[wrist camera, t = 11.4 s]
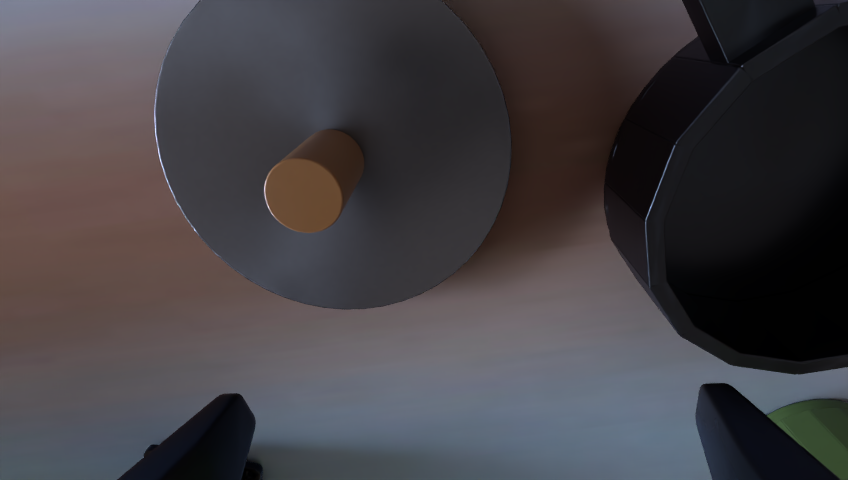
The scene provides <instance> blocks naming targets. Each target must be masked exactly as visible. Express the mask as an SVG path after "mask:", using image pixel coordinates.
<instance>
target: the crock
mask: <svg viewBox="0 0 848 480" xmlns="http://www.w3.org/2000/svg"><path fill="white" fill-rule="evenodd" d="M767 417H769V418H770V419H771V420H772V421H773V422H774V423H776V424H777V425H778V426H779V427H780V428H781V429H783V430H784V431H785V432H786V433H787V434H788V435H790V436H791V437H792V438H793V439H794V440H795V441H797V442H798V443H799V444H800V445H801V446H802V447H804V448H805V449H806V450H807V451H808V452H809V453H811V454H812V455H813V456H814V457H815V458H816V459H818V460H819V461H820V462H821V463H822V464H823V465H825V466H826V467H827V468H828V469H829V470H830V471H832V472H833V473H834V474H835V475H836V476H837V477H839V478H840V479H841V480H848V403H846V402H842V401H838V400H829V399H818V400H808V401H802V402H798V403H794V404H791V405H788V406H785V407H783V408H780V409H778V410H776V411H774V412H772V413H770V414H768V415H767Z"/></svg>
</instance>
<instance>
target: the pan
mask: <svg viewBox="0 0 848 480" xmlns="http://www.w3.org/2000/svg"><path fill="white" fill-rule="evenodd" d="M682 1H683V3H684V6H685V8H686V10H687V12H688V14H689V16H690V19H691V21H692V23H693V25H694V27H695V29H696V31H697V34H698V37H697V38H695V39H694V40H693V41H691V42H690V43H689V44H687V45H686V46H685V47H683V48H682V49H681V50H680V51H679V52H678V53H677V54H676V55H674V56H673V57H672V58H671V59H670V60H669V61H668V62H667V63H666V64H665V65H664V66H663V67H662V68H661V69H660V70H659V71H658V72H657V73H656V75H655V76H654V77H653V78H652V79H651V80H650V82H649V83H648V84H647V85H646V86H645V87H644V89H643V90H642V92H641V93H640V95H639V96H638V97H637V99H636V100H635V102H634V103H633V105H632V106H631V108H630V110H629V111H628V113H627V115H626V117H625V119H624V121H623V123H622V124H621V126H620V128H619V131H618V133H617V136H616V138H615V141H614V143H613V146H612V149H611V152H610V156H609V160H608V164H607V168H606V175H605V184H604V208H605V214H606V220H607V225H608V228H609V231H610V237H611V240H612V242H613V243H614V245H615V246H616V248H617V249H618V251H619V253H620V255H621V256H622V258H623V259H624V260H625V262H626V264H627V265H628V267H629V268H630V270H631V271H632V273H633V275H634V276H635V278H636V279H637V281H638V282H639V283H640V284H641V286H642V287H643V288H644V290H645V291H646V292H647V294H648V295H649V296H650V298H651V299H652V300H653V302H654V303H655V304H656V306H657V307H658V308H659V309H660V311H661V312H662V313H663V315H664V316H665V317H666V319H667V320H668V321H669V323H670V324H671V325H672V327H673V328H674V329H675V330H676V332H677V333H678V334H679V335H680V336H681V337H683V338H684V339H686V340H688V341H690V342H691V343H693V344H695V345H697V346H698V347H700V348H702V349H704V350H705V351H707V352H709V353H710V354H712V355H714V356H716V357H717V358H719V359H721V360H723V361H724V362H726V363H728V364H730V365H733V366H739V367H746V368H753V369H760V370H767V371H774V372H781V373H788V374H805V373H812V372H818V371H825V370H831V369H838V368H844V367H848V0H682Z"/></svg>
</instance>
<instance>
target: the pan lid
mask: <svg viewBox="0 0 848 480" xmlns="http://www.w3.org/2000/svg"><path fill="white" fill-rule="evenodd" d="M154 115H155V135H156V141H157V146H158V152H159V158H160V161H161V164H162V167H163V171H164V174H165V177H166V180H167V182H168V185H169V187H170V189H171V191H172V194H173V196H174V198H175V200H176V202H177V204H178V205H179V207H180V209H181V211H182V212H183V214H184V216H185V217H186V219H187V221H188V222H189V223H190V225H191V226H192V227H193V229H194V230H195V231H196V233H197V234H198V235H199V237H200V238H201V239H202V240H203V241H204V242H205V243H206V244H207V245H208V247H209V248H210V249H211V250H212V251H213V252H214V253H215V254H216V255H217V256H218V257H220V258H221V259H222V260H223V261H224V262H225V263H227V264H228V265H229V266H230V267H231V268H233V269H234V270H235V271H237V272H238V273H240V274H241V275H243V276H244V277H245V278H247V279H248V280H250V281H252V282H254V283H255V284H257V285H259V286H261V287H263V288H264V289H266V290H268V291H271V292H273V293H275V294H278V295H280V296H282V297H285V298H288V299H291V300H294V301H297V302H301V303H304V304H308V305H313V306H318V307H324V308H334V309H367V308H374V307H381V306H386V305H390V304H394V303H398V302H402V301H404V300H407V299H409V298H412V297H415V296H417V295H420V294H422V293H424V292H425V291H427V290H429V289H431V288H433V287H435V286H437V285H438V284H440V283H441V282H442V281H444V280H445V279H447V278H448V277H449V276H451V275H452V274H454V273H455V272H456V271H457V270H458V269H459V268H460V267H461V266H462V265H463V264H464V263H465V262H467V261H468V260H469V258H470V257H471V256H472V255H473V254H474V252H475V251H476V250H477V249H478V248H479V246H480V245H481V244H482V242H483V241H484V239H485V238H486V236H487V234H488V233H489V231H490V230H491V228H492V226H493V224H494V222H495V220H496V217H497V215H498V213H499V211H500V209H501V206H502V203H503V199H504V196H505V193H506V190H507V186H508V180H509V174H510V168H511V146H512V140H511V130H510V121H509V115H508V111H507V107H506V102H505V98H504V94H503V91H502V89H501V86H500V83H499V81H498V78H497V76H496V73H495V71H494V68H493V66H492V65H491V63H490V61H489V59H488V57H487V56H486V54H485V52H484V50H483V48H482V47H481V45H480V44H479V42H478V41H477V40H476V38H475V37H474V36H473V34H472V33H471V32H470V30H469V29H468V27H467V26H466V25H465V23H464V22H463V21H462V20H461V19H460V18H459V17H458V16H457V15H456V14H455V13H454V12H453V11H452V10H451V9H450V8H449V7H448V6H447V5H446V4H445V3H444V2H442V1H441V0H200V1H199V2H198V3H197V5H196V6H195V7H194V8H193V9H192V11H191V12H190V13H189V14H188V15H187V17H186V18H185V19H184V20H183V22H182V24H181V25H180V27H179V29H178V30H177V32H176V34H175V36H174V37H173V39H172V41H171V43H170V45H169V48H168V50H167V53H166V55H165V58H164V60H163V63H162V66H161V70H160V75H159V79H158V83H157V87H156V98H155V109H154Z"/></svg>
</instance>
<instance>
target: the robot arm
mask: <svg viewBox="0 0 848 480" xmlns="http://www.w3.org/2000/svg"><path fill="white" fill-rule="evenodd" d="M255 424H256V423H255V417H254V415H253V413H252V411H251V410H250V408H249V406H248V405H247V403H246V401H245V400H244V398H243V397H242V396H241V395H240V394H237V393H230V394H221V395H219V396H218V397H216V398H215V399H214V400H213V401H211V402H210V403H209V404H208V405H207V406H205V407H204V408H203V409H202V410H201V411H199V412H198V413H197V414H196V415H195V416H193V417H192V418H191V419H190V420H189V421H187V422H186V423H185V424H184V425H183V426H181V427H180V428H179V429H178V430H176V431H175V432H174V433H173V434H172V435H170V436H169V437H168V438H167V439H166V440H164V441H163V442H162V443H161V444H160V445H150V446H149V447H148V448H147V450H146V451H145V453H144V458H143V459H141V460H140V461H139V462H138V463H137V464H135V465H134V466H133V467H132V468H131V469H129V470H128V471H127V472H126V473H125V474H123V475H122V476H121V477H120V478H119V479H117V480H262V473H263V469H262V467H261V465H259V464H257V463H254V462H248V461H246V460H247V456H248V452H249V449H250V445H251V441H252V438H253V434H254V431H255ZM696 424H697V429H698V432H699V436H700V439H701V442H702V446H703V449H704V453H705V456H706V460H707V463H708V466H709V470H710V473H711V477H712V480H841V479H840V478H839V477H837V476H836V475H835V474H834V473H833V472H832V471H830V470H829V469H828V468H827V467H826V466H825V465H823V464H822V463H821V462H820V461H819V460H818V459H816V458H815V457H814V456H813V455H812V454H811V453H809V452H808V451H807V450H806V449H805V448H804V447H802V446H801V445H800V444H799V443H798V442H797V441H795V440H794V439H793V438H792V437H791V436H790V435H788V434H787V433H786V432H785V431H784V430H783V429H781V428H780V427H779V426H778V425H777V424H776V423H774V422H773V421H772V420H771V419H770V418H769V417H767V416H766V415H765V414H764V413H763V412H762V411H760V410H759V409H758V408H757V407H756V406H755V405H753V404H752V403H751V402H750V401H749V400H748V399H746V398H745V397H744V396H743V395H742V394H741V393H739V392H738V391H737V390H736V389H735V388H734V387H732V386H731V385H729V384H725V383H709V384H703V385H702V386H701V387H700V390H699V396H698V402H697V408H696Z"/></svg>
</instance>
